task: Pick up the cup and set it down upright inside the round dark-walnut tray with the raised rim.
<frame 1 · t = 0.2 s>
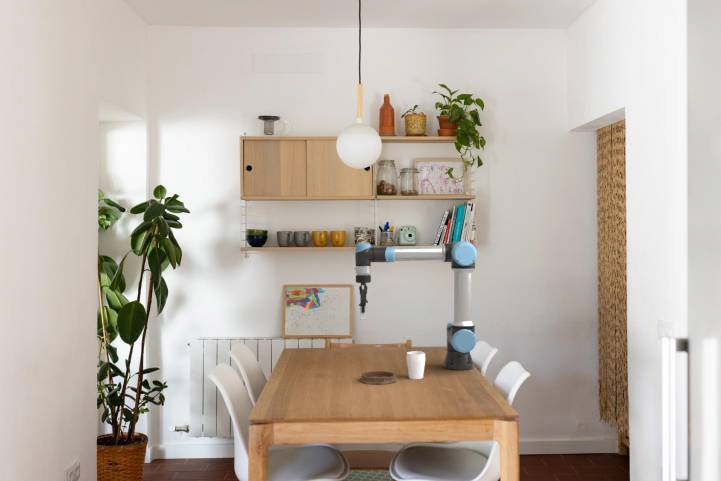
hand: (363, 317, 329), 28 cm above the table, fingers open, 13 cm apart
round tray: (378, 380, 313), on the table
cup: (416, 378, 319), on the table
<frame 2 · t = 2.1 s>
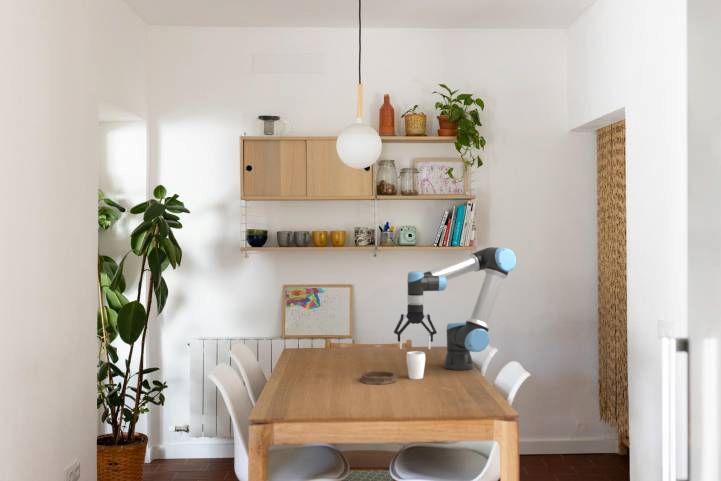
hand: (415, 348, 318), 14 cm above the table, fingers open, 13 cm apart
nothing on the table moved.
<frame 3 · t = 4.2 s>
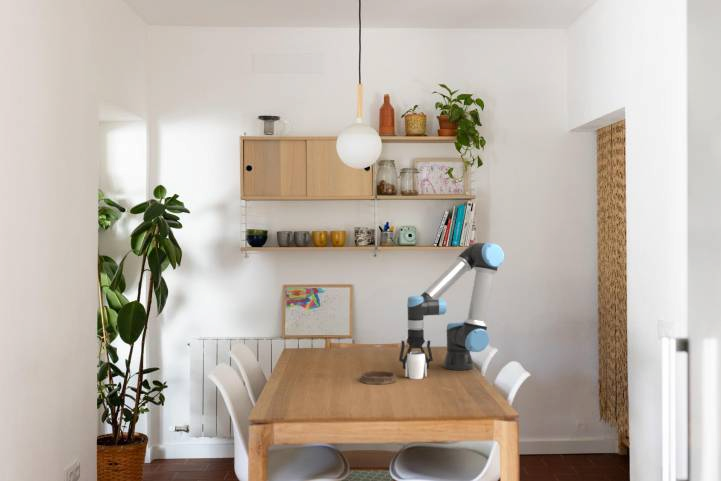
hand: (416, 376, 319), 1 cm above the table, fingers closed on cup, 9 cm apart
cup: (416, 378, 319), on the table, touching gripper
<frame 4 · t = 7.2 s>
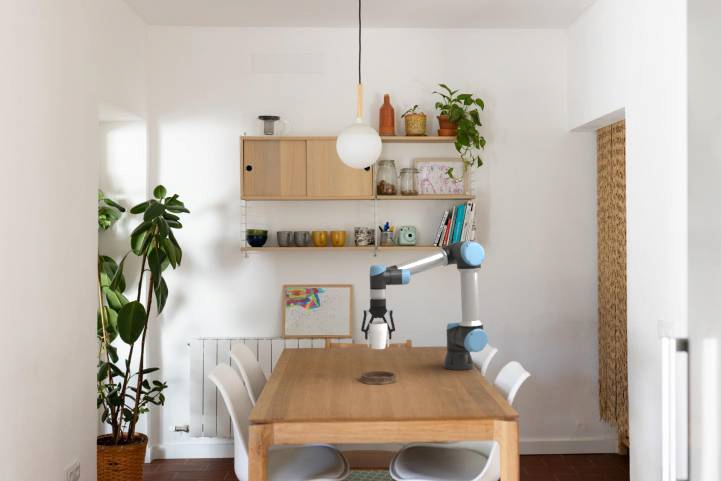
hand: (378, 346, 313), 16 cm above the table, fingers closed on cup, 9 cm apart
cup: (378, 348, 313), point 15 cm above the table, touching gripper
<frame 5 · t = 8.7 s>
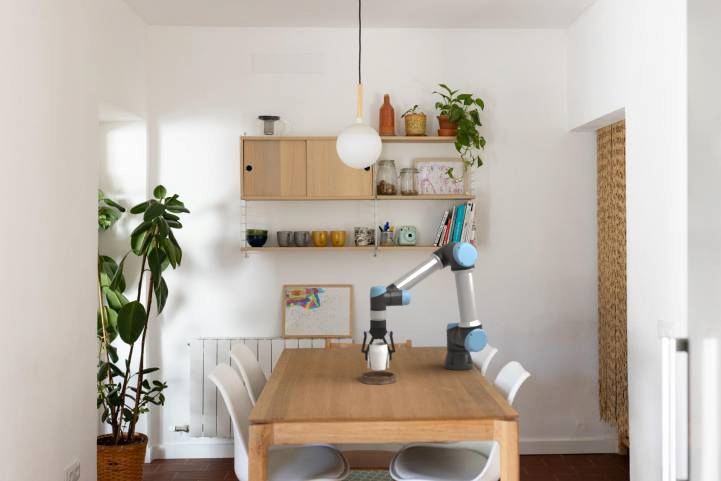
hand: (378, 367, 313), 6 cm above the table, fingers closed on cup, 9 cm apart
cup: (378, 369, 313), point 5 cm above the table, touching gripper
when the fingers open (4 cm above the table, at t = 10.1 s): cup drops 2 cm, resting on round tray.
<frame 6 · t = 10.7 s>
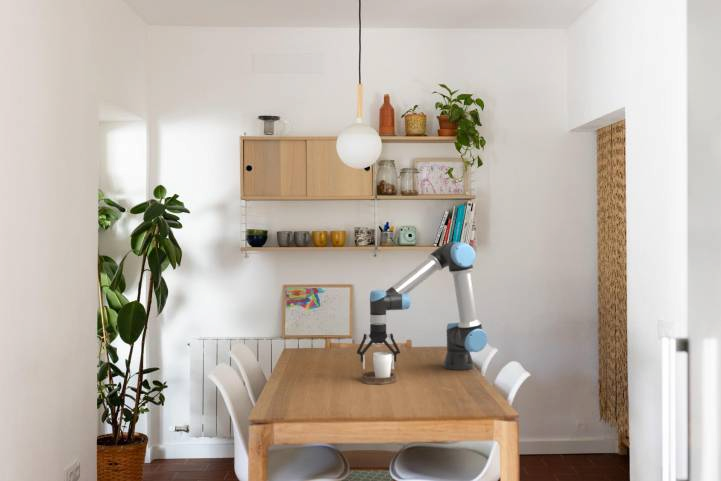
hand: (378, 368, 313), 6 cm above the table, fingers open, 13 cm apart
cup: (382, 379, 313), point 1 cm above the table, touching round tray
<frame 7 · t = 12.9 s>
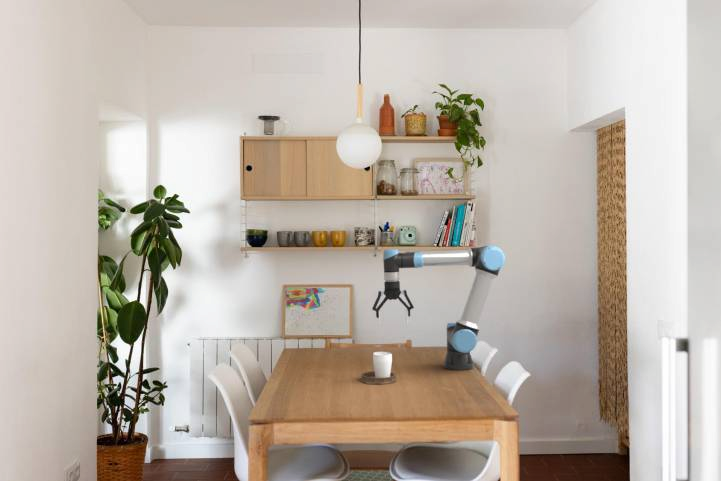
hand: (393, 323, 328), 24 cm above the table, fingers open, 13 cm apart
nothing on the table moved.
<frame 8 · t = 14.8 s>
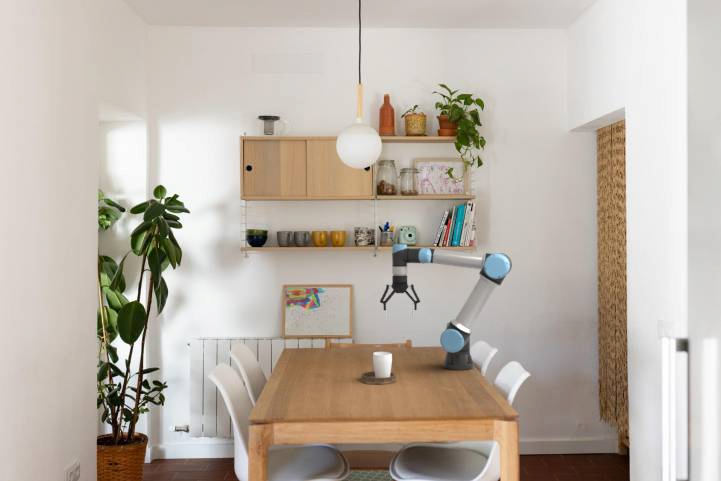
hand: (400, 316, 338), 27 cm above the table, fingers open, 13 cm apart
nothing on the table moved.
at the end: cup inside the target area on the round tray (1.9 cm from its centre), point 0.6 cm above the round tray's base; cup tilted 0°; the gripper is holding nothing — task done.
